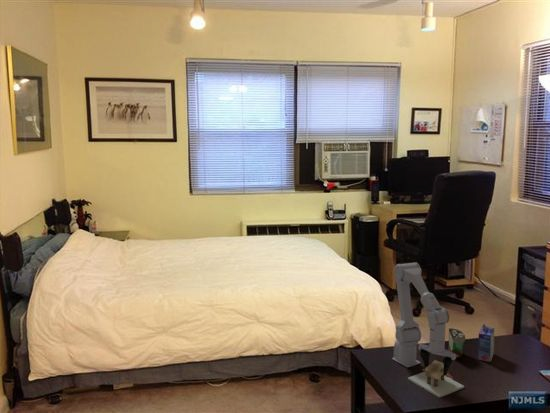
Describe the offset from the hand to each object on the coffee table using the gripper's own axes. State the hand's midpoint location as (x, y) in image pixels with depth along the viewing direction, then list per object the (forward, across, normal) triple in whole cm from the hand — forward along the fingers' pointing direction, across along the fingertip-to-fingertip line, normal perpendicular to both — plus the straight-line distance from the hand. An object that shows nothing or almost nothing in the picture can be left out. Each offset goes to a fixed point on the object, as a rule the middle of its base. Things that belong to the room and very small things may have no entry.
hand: (435, 371), depth 187 cm
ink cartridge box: (+6, -7, -38) cm, 39 cm away
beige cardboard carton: (+4, 0, 0) cm, 4 cm away
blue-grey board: (+5, 0, 0) cm, 5 cm away
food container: (+5, +3, -32) cm, 32 cm away
